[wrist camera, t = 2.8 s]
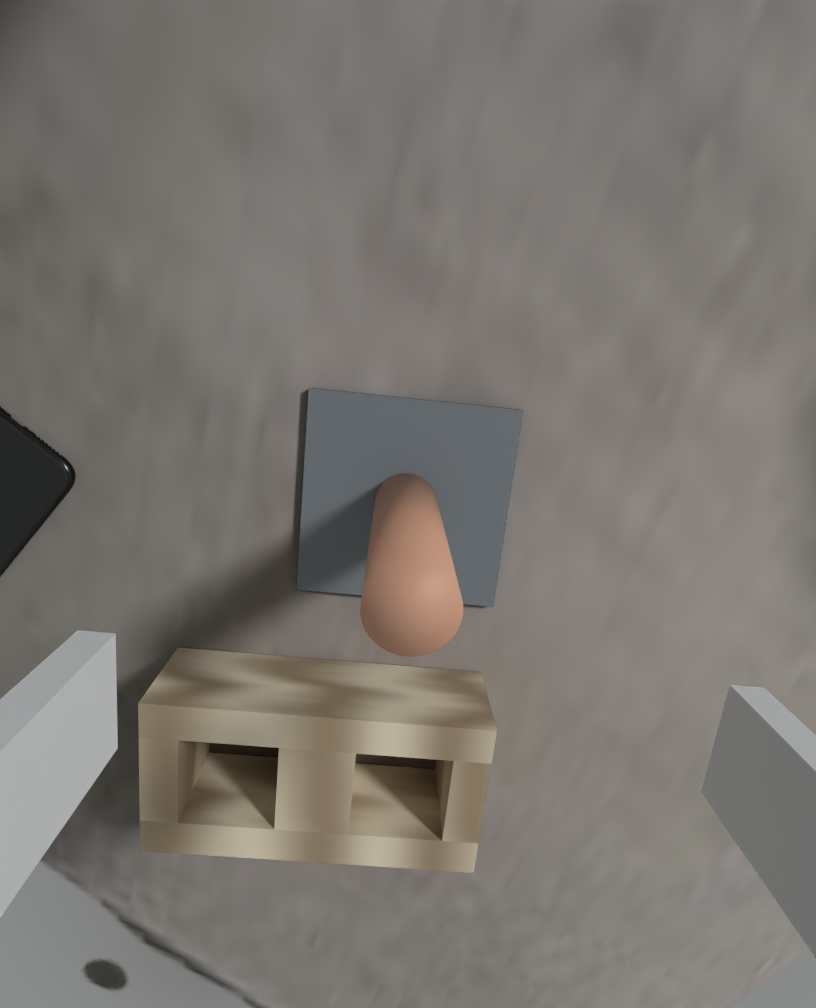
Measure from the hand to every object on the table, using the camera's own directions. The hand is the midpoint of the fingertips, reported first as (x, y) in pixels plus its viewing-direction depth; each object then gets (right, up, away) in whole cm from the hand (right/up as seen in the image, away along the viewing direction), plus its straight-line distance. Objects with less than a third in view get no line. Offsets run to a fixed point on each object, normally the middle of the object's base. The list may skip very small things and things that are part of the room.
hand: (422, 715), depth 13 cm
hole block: (-5, -8, +20) cm, 22 cm away
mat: (0, +5, +17) cm, 17 cm away
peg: (0, +5, +16) cm, 17 cm away
